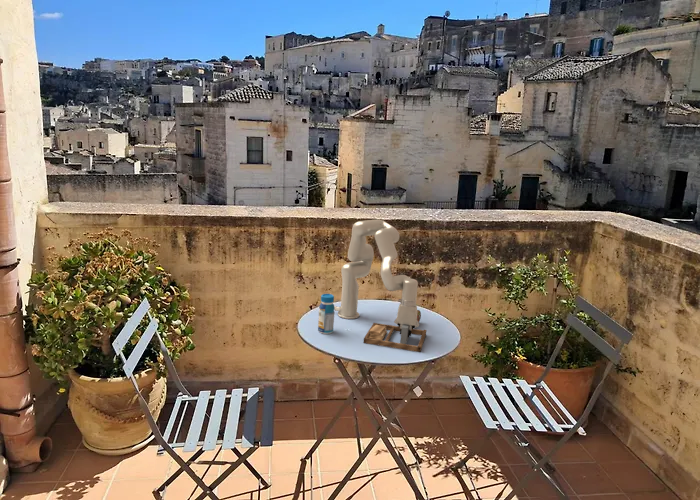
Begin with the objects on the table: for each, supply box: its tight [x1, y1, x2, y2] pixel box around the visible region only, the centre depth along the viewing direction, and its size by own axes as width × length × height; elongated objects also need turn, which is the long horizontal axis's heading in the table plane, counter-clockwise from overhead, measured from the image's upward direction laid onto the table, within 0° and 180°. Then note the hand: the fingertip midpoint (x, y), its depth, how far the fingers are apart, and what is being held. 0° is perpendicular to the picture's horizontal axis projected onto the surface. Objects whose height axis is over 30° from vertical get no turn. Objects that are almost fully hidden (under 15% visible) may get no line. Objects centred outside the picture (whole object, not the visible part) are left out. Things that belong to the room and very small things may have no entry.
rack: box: [362, 322, 427, 353], centre depth 283 cm, size 29×24×3 cm
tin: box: [417, 309, 422, 324], centre depth 304 cm, size 15×3×8 cm, turn 143°
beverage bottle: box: [317, 293, 335, 335], centre depth 285 cm, size 8×8×20 cm
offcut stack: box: [368, 325, 388, 341], centre depth 285 cm, size 7×13×5 cm, turn 164°
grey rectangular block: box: [399, 324, 409, 344], centre depth 282 cm, size 3×12×9 cm, turn 165°
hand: (405, 335), depth 282 cm, fingers closed on grey rectangular block, 3 cm apart
